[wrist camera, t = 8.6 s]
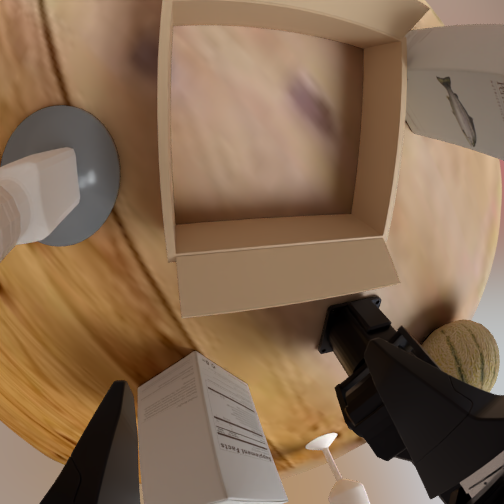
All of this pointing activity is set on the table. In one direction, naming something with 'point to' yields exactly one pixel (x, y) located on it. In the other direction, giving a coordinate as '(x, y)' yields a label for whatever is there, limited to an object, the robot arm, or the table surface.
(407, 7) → the carton
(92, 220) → the coaster
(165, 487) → the supplement box
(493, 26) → the supplement box
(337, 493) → the champagne flute
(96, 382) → the table surface
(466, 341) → the cantaloupe
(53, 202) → the salt shaker
